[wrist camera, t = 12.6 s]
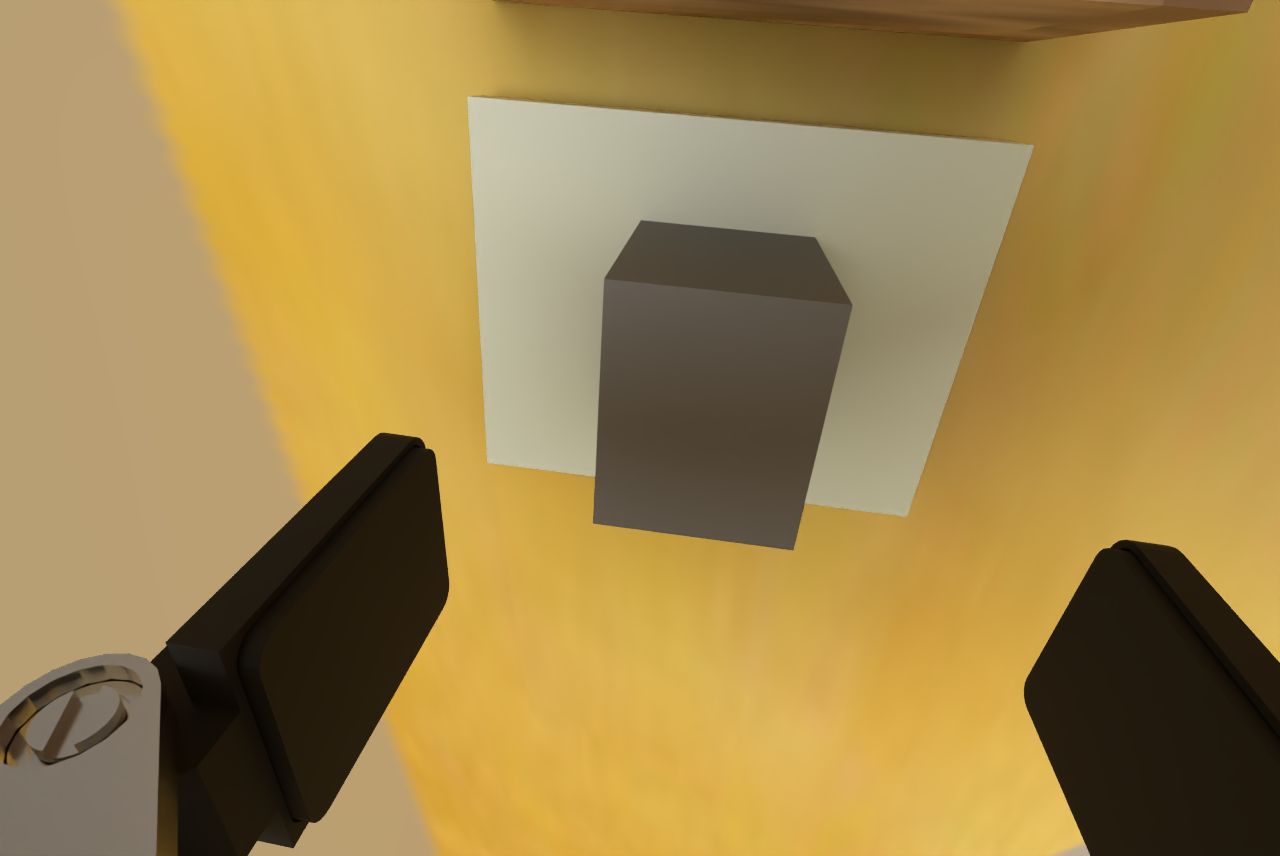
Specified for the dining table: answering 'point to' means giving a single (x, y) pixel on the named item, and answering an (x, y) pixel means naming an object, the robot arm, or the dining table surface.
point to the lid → (726, 306)
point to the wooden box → (939, 14)
